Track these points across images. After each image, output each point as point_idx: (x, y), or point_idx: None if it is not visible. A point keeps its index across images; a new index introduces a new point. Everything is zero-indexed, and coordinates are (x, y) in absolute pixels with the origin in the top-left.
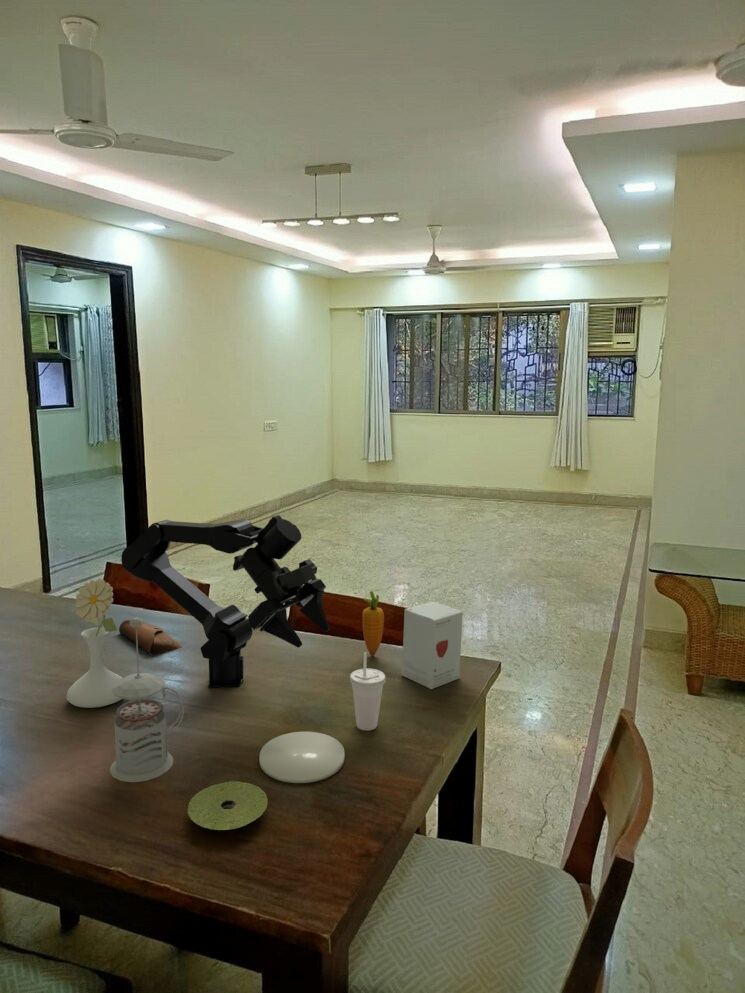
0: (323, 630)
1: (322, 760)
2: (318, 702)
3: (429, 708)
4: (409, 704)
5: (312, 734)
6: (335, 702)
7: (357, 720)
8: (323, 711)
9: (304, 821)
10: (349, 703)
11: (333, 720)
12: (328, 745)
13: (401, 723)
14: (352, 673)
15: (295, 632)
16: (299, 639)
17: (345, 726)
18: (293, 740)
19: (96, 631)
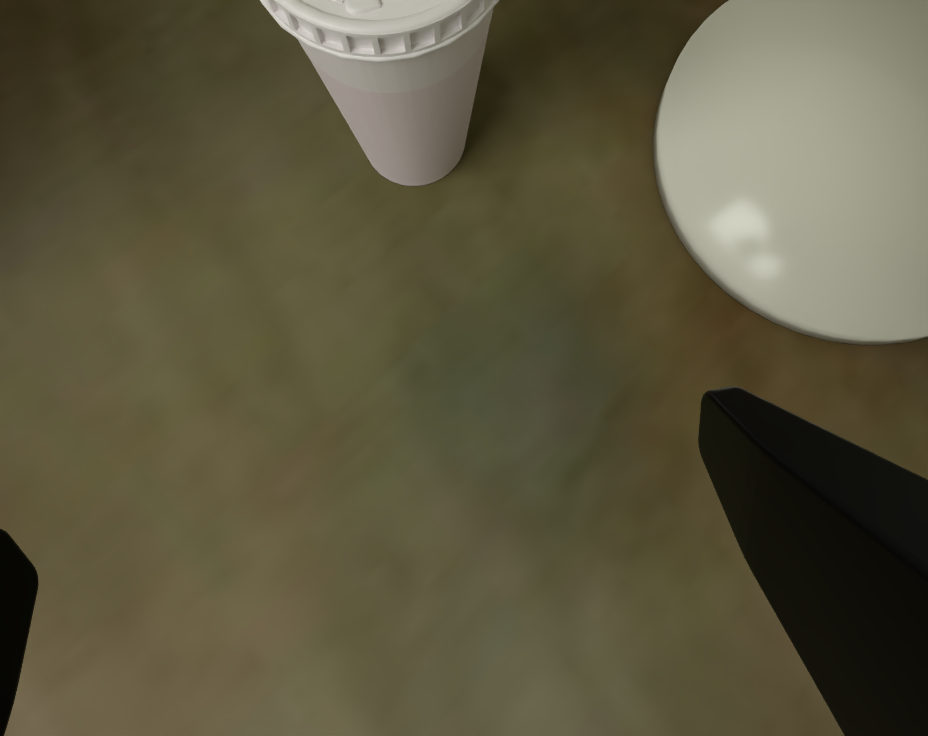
0: (31, 617)
1: (834, 36)
2: (393, 496)
3: (75, 29)
4: (98, 120)
5: (714, 221)
6: (329, 421)
7: (467, 130)
8: (454, 397)
9: None
10: (287, 354)
11: (490, 290)
12: (725, 100)
13: (289, 37)
14: (429, 9)
15: (840, 500)
16: (758, 421)
17: (494, 206)
18: (823, 251)
19: None
